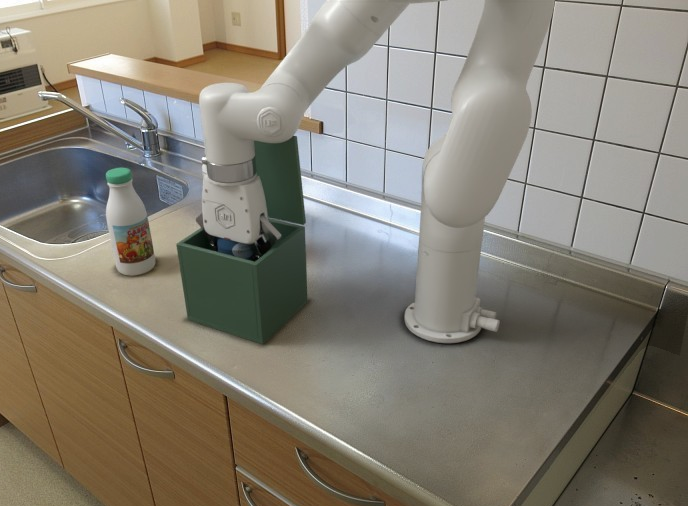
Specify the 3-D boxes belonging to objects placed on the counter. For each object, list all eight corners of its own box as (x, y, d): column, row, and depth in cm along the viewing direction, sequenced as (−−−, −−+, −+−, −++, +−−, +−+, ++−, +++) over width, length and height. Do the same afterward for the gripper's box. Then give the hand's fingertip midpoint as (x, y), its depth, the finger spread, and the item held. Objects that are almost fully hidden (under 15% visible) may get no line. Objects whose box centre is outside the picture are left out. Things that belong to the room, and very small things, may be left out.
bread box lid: (294, 138, 101) (297, 135, 102) (211, 125, 108) (214, 123, 109) (303, 225, 111) (306, 222, 111) (227, 208, 118) (229, 206, 118)
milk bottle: (109, 273, 131) (88, 177, 120) (129, 255, 137) (110, 162, 127) (144, 278, 129) (125, 180, 118) (162, 259, 135) (147, 165, 124)
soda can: (262, 304, 111) (257, 239, 105) (221, 305, 112) (213, 241, 105) (264, 283, 117) (260, 220, 111) (225, 284, 118) (218, 222, 111)
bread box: (262, 344, 109) (256, 264, 101) (187, 320, 116) (175, 243, 108) (307, 301, 119) (305, 226, 111) (236, 281, 126) (228, 209, 118)
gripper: (171, 167, 104) (186, 267, 113) (265, 186, 96) (273, 292, 105) (201, 152, 109) (213, 249, 119) (292, 168, 101) (297, 271, 111)
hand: (241, 268), depth 112 cm, fingers closed on soda can, 7 cm apart
